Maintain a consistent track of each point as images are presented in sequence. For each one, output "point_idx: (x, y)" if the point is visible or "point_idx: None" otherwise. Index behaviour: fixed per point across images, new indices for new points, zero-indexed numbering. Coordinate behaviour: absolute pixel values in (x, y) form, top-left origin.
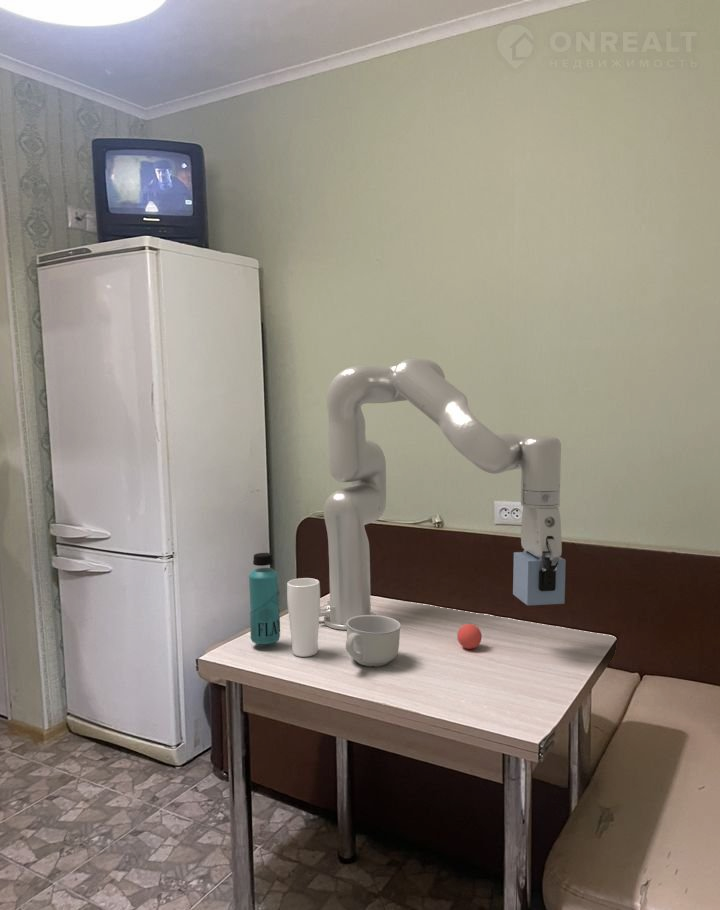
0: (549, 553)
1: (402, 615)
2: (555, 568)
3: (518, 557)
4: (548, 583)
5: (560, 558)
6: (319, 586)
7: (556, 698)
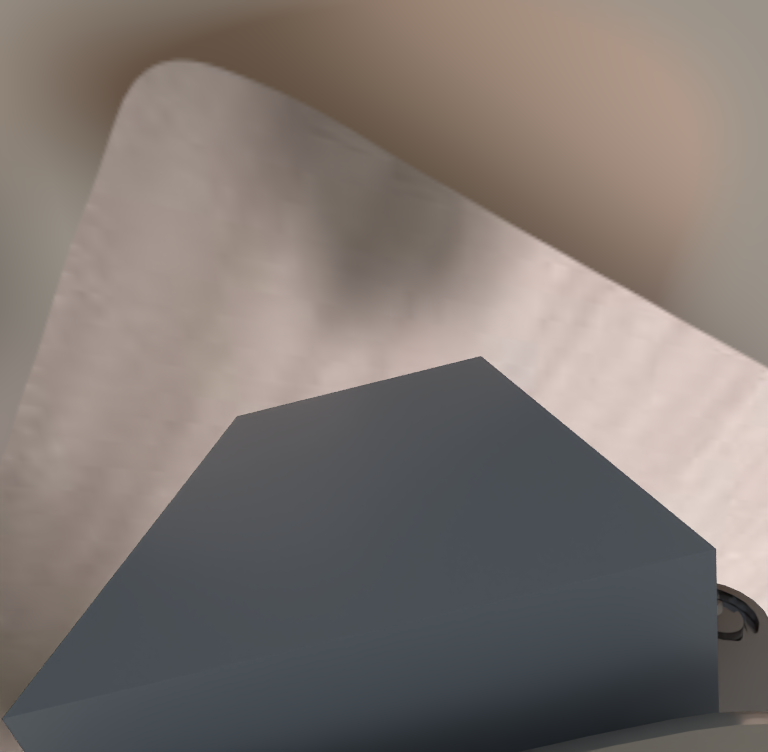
0: (223, 731)
1: None
2: (761, 623)
3: None
4: None
5: (610, 615)
6: None
7: (724, 387)
